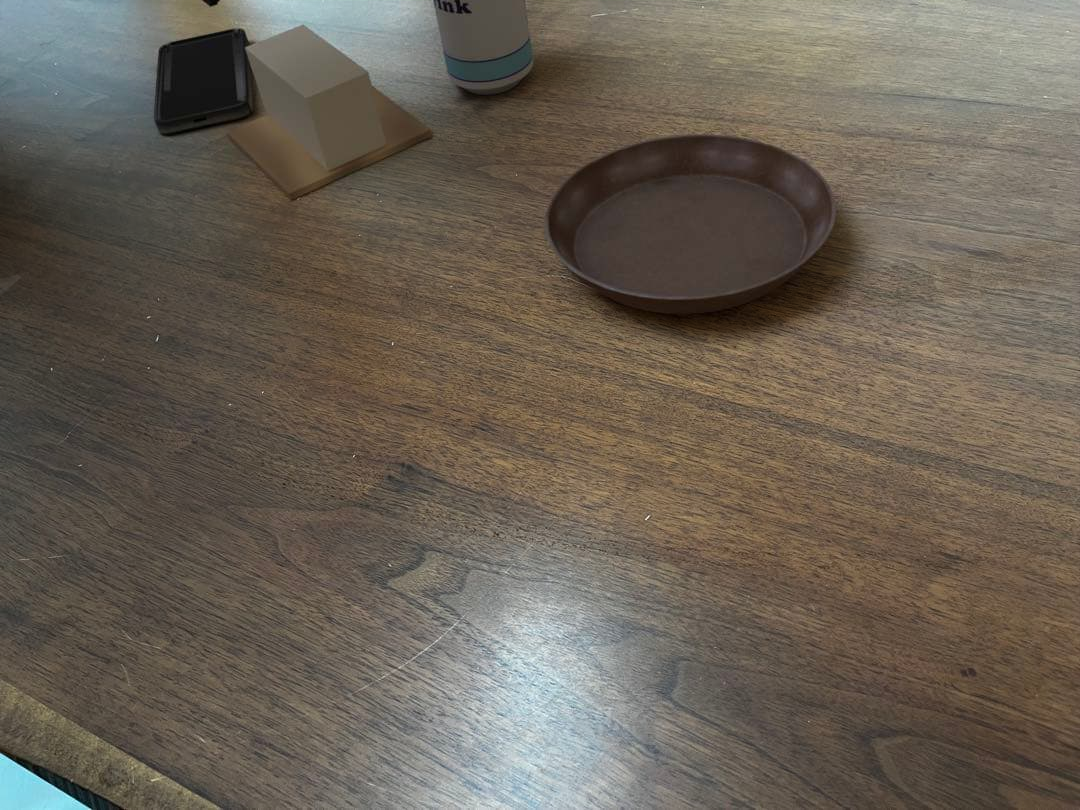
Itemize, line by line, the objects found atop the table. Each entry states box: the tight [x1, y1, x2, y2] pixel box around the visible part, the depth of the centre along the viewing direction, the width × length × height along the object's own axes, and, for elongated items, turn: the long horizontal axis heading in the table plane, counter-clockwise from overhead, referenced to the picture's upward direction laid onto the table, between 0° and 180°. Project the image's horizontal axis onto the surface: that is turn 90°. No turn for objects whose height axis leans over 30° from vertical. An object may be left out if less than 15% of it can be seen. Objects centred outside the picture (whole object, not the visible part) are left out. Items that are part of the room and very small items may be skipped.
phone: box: [153, 27, 254, 135], centre depth 93 cm, size 8×1×15 cm
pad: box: [226, 85, 433, 201], centre depth 84 cm, size 12×12×1 cm
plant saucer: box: [544, 133, 837, 315], centre depth 68 cm, size 18×18×3 cm
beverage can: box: [432, 0, 534, 96], centre depth 83 cm, size 7×7×12 cm
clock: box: [245, 24, 387, 171], centre depth 82 cm, size 11×5×6 cm, turn 34°
